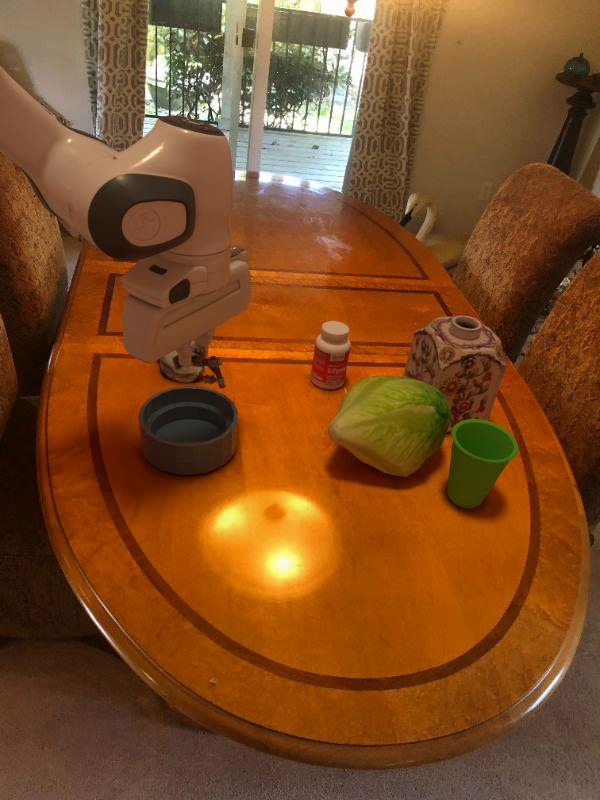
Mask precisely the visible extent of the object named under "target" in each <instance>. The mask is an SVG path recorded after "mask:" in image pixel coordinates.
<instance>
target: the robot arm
mask: <svg viewBox="0 0 600 800" xmlns="http://www.w3.org/2000/svg"><path fill="white" fill-rule="evenodd" d="M0 153H1V154H2V155H4V156H5V157H6V158H7V159H8V160H10V162H12V163H13V164H14V165H16V166H17V167H18V168H19V169H20V170H21V172H22V173H23V174H24V176H25V178H26V180H27V181H28V183H29V184H30V187H31V188H32V190H33V192H34V194H35V196H36V197H37V199H38V200H39V202H40V203H41V205H42V206H43V208H45V209H46V211H48V212H49V213H50V214H51V215H52V216H54V217H55V218H57V219H59V220H60V221H62V222H63V223H65V224H66V225H68V226H69V227H70V228H71V229H73V230H74V231H75V232H76V233H78V234H79V236H81V237H82V238H84V239H85V240H86V241H87V242H88V243H89V244H91V245H93V246H94V247H95V248H96V249H97V250H99V251H100V252H102V254H104V255H106V256H107V257H110V258H112V259H113V260H118V261H122V262H135V261H137V262H136V263H135V264H134V265H133V266H132V267H130V268H129V269H128V270H127V271H125V273H123V274H122V277H121V287H122V290H123V291H125V292H126V293H128V296H127V297H126V298H125V300H124V302H123V306H122V338H123V346H124V350H125V351H126V352H127V353H128V354H129V355H130V356H131V357H132V358H134V359H137V360H138V361H140V362H143V363H145V364H149V365H150V364H154V363H155V362H157V361H158V360H159V359H160V358H162V357H164V356H165V355H167V354H169V353H171V352H173V351H174V350H176V352H177V353H178V361H179V364H180V365H181V366H183V367H185V368H189V367H191V366H192V365H194V364H195V363H196V360H195V359H196V358H206V359H207V357H209V346H210V344H211V342H212V340H213V337H214V335H215V332H216V330H215V329H216V328H217V327H219V326H220V325H223V324H224V323H226V322H228V321H230V320H232V319H233V318H235V317H237V316H239V315H240V314H242V313H244V312H245V311H247V310H248V309H249V306H250V305H251V302H252V277H251V275H252V274H251V269H250V266H249V264H248V252H247V250H246V248H245V247H244V246H242V245H241V244H234V245H232V236H231V232H230V227H229V220H230V216H231V214H232V210H233V201H234V167H233V156H232V150H231V145H230V142H229V139H228V137H227V135H226V134H225V133H224V132H223V131H222V130H221V129H219V128H218V127H216V126H215V125H212V124H210V123H208V122H205V121H203V120H198V119H195V118H192V117H189V116H182V115H173V114H171V115H170V114H169V115H164V116H160V117H158V118H157V119H156V121H155V124H154V125H153V127H152V128H151V129H150V130H149V131H148V132H147V133H146V134H145V135H144V136H143V137H142V138H140V140H137V141H136V142H135V143H134V144H132V145H130V146H129V147H127V148H126V149H124V150H121V151H118V150H116V149H114V148H112V147H111V146H110V145H109V144H108V143H106V142H105V141H103V140H102V139H101V138H99V137H97V136H96V135H94V134H91V133H89V132H86V131H84V130H80V129H77V128H75V127H71V126H68V125H66V124H64V123H62V122H60V121H59V120H58V119H56V118H55V117H54V116H53V115H52V114H51V113H50V112H49V111H48V110H47V109H46V108H44V106H43V105H41V104H40V103H39V102H38V101H37V100H36V99H35V98H34V97H33V96H32V95H31V94H29V93H28V91H26V90H25V89H24V88H23V87H22V86H21V85H20V84H19V83H18V82H17V81H16V80H15V79H14V78H13V77H12V76H10V74H9V73H8V72H7V71H6V70H5V69H4V68H3V66H1V65H0ZM192 340H195V344H193V345H191V341H192ZM190 346H191V352H190V350H189V349H188V347H190Z"/></svg>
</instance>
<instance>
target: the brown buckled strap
mask: <svg viewBox="0 0 600 800" xmlns="http://www.w3.org/2000/svg"><path fill="white" fill-rule="evenodd" d="M172 360H173V363H174V366H175V369H176V370H179V369H180V368H182V367H183V366H181V365H180V364H179V361H178V355H177V356H175V357H173V358H172ZM195 360H196V363H195V364H194V365H192V366H194V367H201V368H202V367H204V368H205V367H208V369H210V371H211V372H212V373H213V374H211V375H209V374H206V375H204V376H202V378H201V380H202V381H203V384H205V385H206V384H209V385H213V384H214V383H217V384H218V387H219V389H222V390H223V389H225V388H226V381H225V378H224V376H223V374H222V371H221V368H220V366H223V363H224V361H223V360H222V359H221V357H217V356H216V355H211V356H210V357H209V358H207V357H206V358H196V359H195Z"/></svg>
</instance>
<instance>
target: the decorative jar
mask: <svg viewBox="0 0 600 800" xmlns="http://www.w3.org/2000/svg"><path fill="white" fill-rule="evenodd" d="M506 369H507V362H506V356H505V352H504V350H503V345H502V340H501V339H500V337H498V335H497V334H496V333H495V332H494V331H493V330H492V329H491V327H489V326H487V325H485V324H482V323H481V321H480V320H478V319H477V318H475V317H474V316H469V315H456V316H439V317H436V318H434V319H433V320H430V321H428V322H427V323H425V324H423V325H421V326H420V327H419V328H417V329H416V330H414V332H413V335H412V340H411V343H410V347H409V352H408V354H407V359H406V363H405V367H404V371H403V374H402V375H403V376H402V377H412V378H414V379H417V380H419V381H422V382H424V383H427V384H429V385H432V386H434V387H435V388H436V389H438V390H439V391H440V392H442V394H443V396H444V397H445V399H446V401H447V403H448V404H449V406H450V412H451V419H450V424H449V427H448V430H447V433H451V432H452V429H453V427H454V426H455V425H456V424H457V423H459V422H460V421H463V420H467V419H481V420H486V421H489V418H490V416H491V413H492V410H493V407H494V405H495V401H496V398H497V396H498V393H499V390H500V387H501V384H502V381H503V378H504V374H505V372H506Z"/></svg>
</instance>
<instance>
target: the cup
mask: <svg viewBox="0 0 600 800" xmlns="http://www.w3.org/2000/svg"><path fill="white" fill-rule="evenodd" d="M450 433H451V434H450V435H451V439H452V445H451V453H450V459H449V460H450V461H449V469H448V478H447V486H446V493H447V496H448V498H449V500H450V501H451V502H452V503H453V504H455V506H458V507H460V508H463V509H474V508H477V507H479V506H480V505H481V504H482V503H483V501H484V500H485V499H486V497H487V495H488V494H489V493H490V492H491V490H492V488H493V487H494V485H495V484H496V482H497V480H498V479H499V477H500V476H501V474H502V473H503V471H504V470H505V468H506V467H507V466H508V464H509V462H510V461H512V460H513V459H514V458H516V457H517V455H518V452H519V446H518V442H517V440H516V438H515V437H514V435H513V434H512V433H511V432H510V431H509V430H507V429H506V428H504V427H503V426H501V425H499V424H497V423H495V422H492V421H489V420H488V421H486V420H481V419H467V420H463V421H460V422H459V423H457V424H456V425H455V426H454V427H453V429H452V432H450Z"/></svg>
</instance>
